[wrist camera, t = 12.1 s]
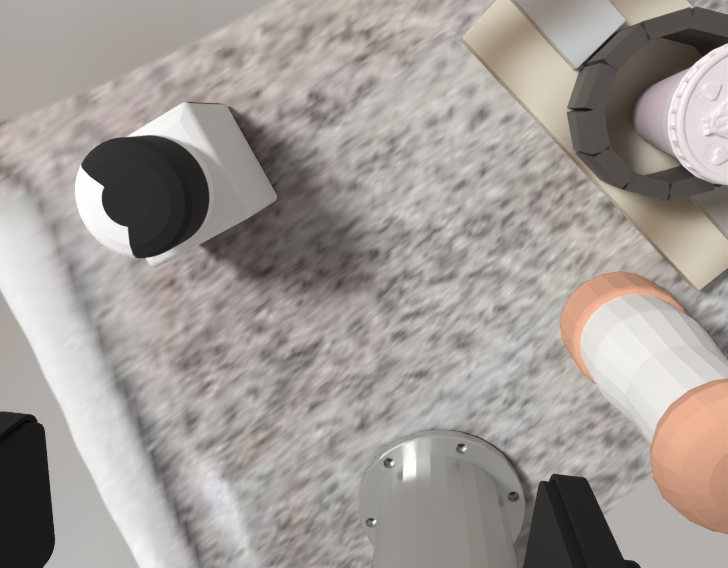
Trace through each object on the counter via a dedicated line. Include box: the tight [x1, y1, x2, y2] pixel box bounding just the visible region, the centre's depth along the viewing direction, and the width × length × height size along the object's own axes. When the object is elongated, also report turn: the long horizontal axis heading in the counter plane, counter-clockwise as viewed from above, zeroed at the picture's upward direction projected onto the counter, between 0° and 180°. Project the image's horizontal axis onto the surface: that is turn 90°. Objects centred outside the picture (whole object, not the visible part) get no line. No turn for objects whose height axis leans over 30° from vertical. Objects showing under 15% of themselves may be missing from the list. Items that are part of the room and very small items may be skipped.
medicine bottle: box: [75, 102, 277, 267], centre depth 34 cm, size 7×7×12 cm
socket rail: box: [460, 0, 728, 290], centre depth 34 cm, size 22×10×6 cm, turn 46°
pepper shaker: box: [560, 272, 728, 534], centre depth 31 cm, size 7×7×19 cm
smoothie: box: [632, 44, 728, 185], centre depth 28 cm, size 6×6×14 cm
